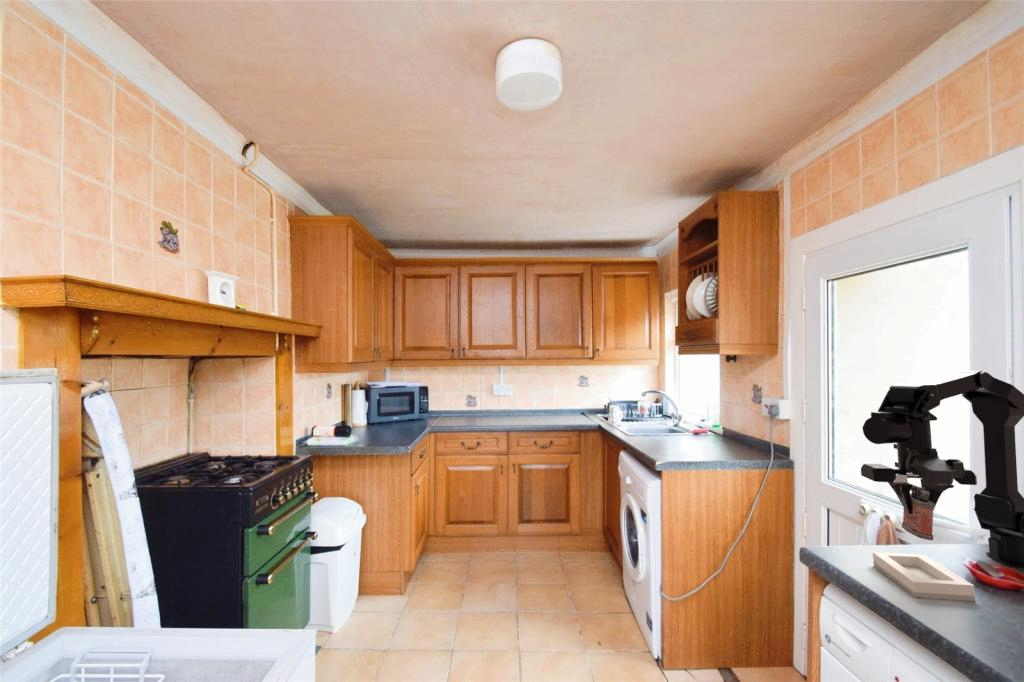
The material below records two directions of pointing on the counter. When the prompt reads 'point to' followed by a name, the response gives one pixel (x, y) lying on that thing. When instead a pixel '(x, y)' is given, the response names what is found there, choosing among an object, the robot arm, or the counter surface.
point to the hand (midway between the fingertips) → (918, 513)
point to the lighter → (919, 514)
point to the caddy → (923, 576)
